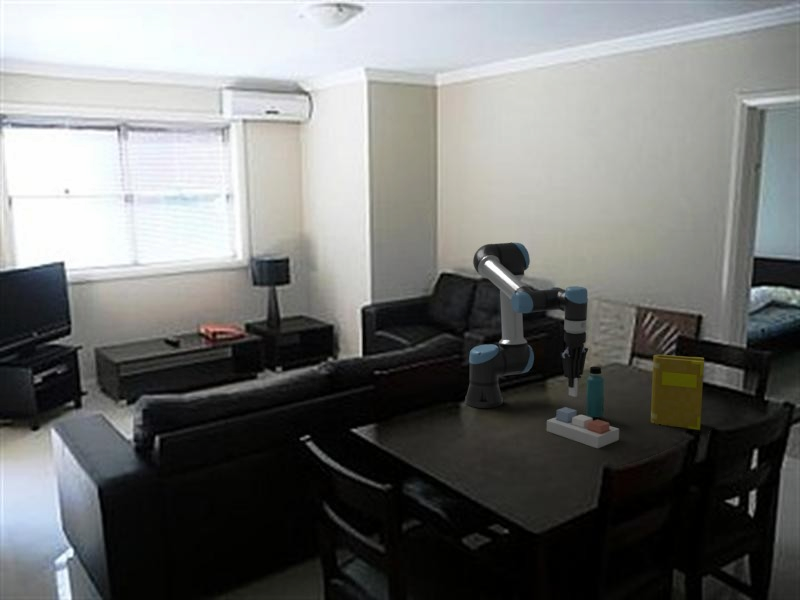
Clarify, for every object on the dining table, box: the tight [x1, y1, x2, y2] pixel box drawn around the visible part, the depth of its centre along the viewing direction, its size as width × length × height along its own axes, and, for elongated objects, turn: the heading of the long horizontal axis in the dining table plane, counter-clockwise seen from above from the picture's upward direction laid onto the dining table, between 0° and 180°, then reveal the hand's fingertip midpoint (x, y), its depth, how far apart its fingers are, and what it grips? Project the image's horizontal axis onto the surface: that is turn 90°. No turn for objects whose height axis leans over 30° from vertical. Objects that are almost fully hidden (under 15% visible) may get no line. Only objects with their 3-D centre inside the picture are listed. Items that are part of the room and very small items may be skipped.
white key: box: [572, 414, 594, 429], centre depth 244 cm, size 5×5×5 cm
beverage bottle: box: [585, 366, 605, 418], centre depth 260 cm, size 6×7×20 cm
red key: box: [588, 419, 611, 434], centre depth 238 cm, size 5×5×5 cm
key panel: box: [546, 416, 620, 449], centre depth 244 cm, size 22×12×4 cm, turn 38°
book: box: [650, 354, 705, 431], centre depth 252 cm, size 17×7×25 cm, turn 65°
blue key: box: [555, 406, 578, 423], centre depth 249 cm, size 5×5×5 cm
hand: (572, 395), depth 246 cm, fingers closed
